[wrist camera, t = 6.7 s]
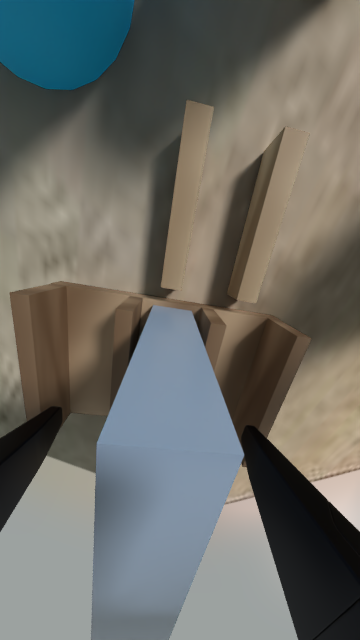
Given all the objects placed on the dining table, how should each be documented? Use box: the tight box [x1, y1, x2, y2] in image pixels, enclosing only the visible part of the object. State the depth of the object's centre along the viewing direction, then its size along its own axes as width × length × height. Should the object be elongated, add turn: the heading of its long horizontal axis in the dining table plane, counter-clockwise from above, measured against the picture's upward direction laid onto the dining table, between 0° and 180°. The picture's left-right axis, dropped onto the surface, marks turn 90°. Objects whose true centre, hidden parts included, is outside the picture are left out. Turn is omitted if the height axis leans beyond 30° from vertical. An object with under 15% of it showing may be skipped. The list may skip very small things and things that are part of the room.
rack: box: [10, 281, 312, 467], centre depth 12 cm, size 15×10×4 cm
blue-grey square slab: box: [91, 305, 244, 640], centre depth 9 cm, size 2×9×9 cm, turn 170°
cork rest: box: [161, 100, 310, 303], centre depth 10 cm, size 6×8×2 cm
